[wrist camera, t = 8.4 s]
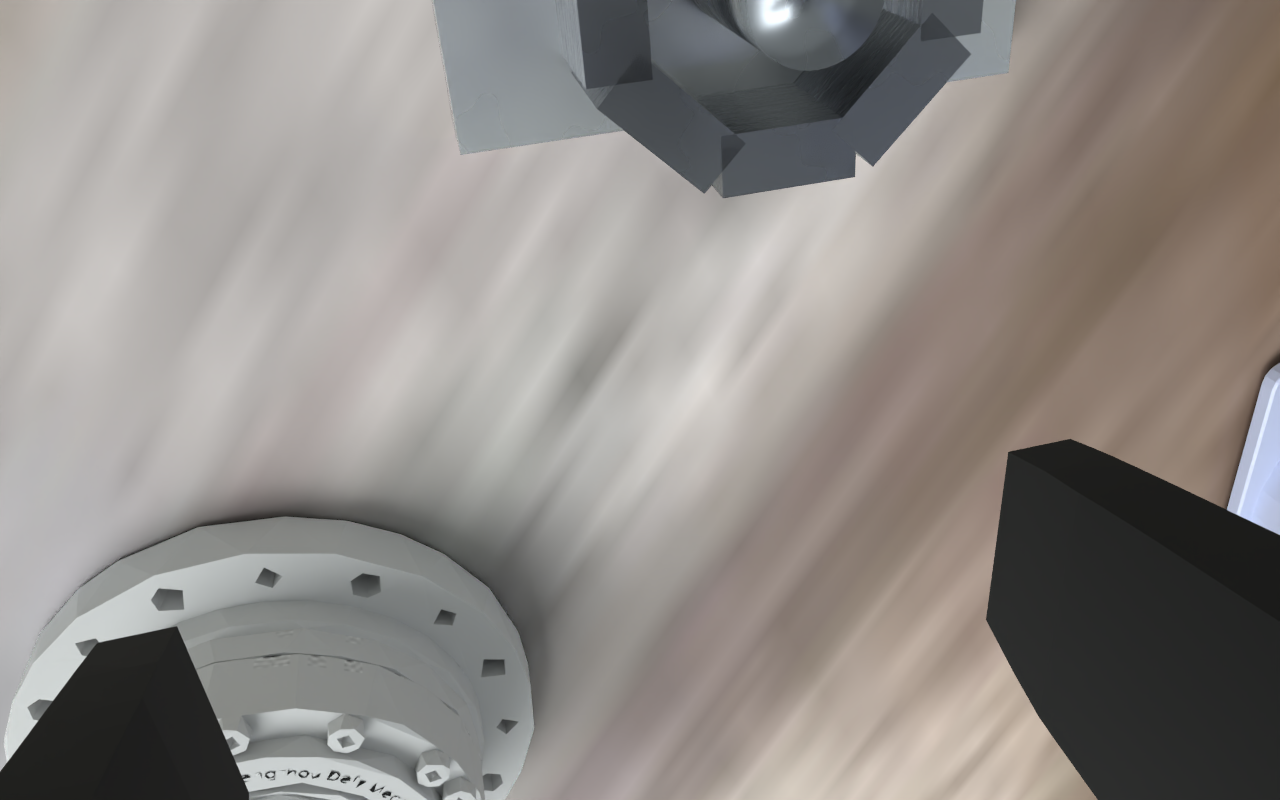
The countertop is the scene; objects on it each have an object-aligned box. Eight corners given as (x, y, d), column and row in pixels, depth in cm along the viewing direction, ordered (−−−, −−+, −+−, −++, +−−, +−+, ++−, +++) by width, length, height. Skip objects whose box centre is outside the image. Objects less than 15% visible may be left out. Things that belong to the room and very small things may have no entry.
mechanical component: (416, 430, 19) (-93, 627, 19) (428, 584, 16) (-203, 831, 15) (584, 750, 25) (191, 907, 25) (623, 921, 21) (161, 1108, 21)
